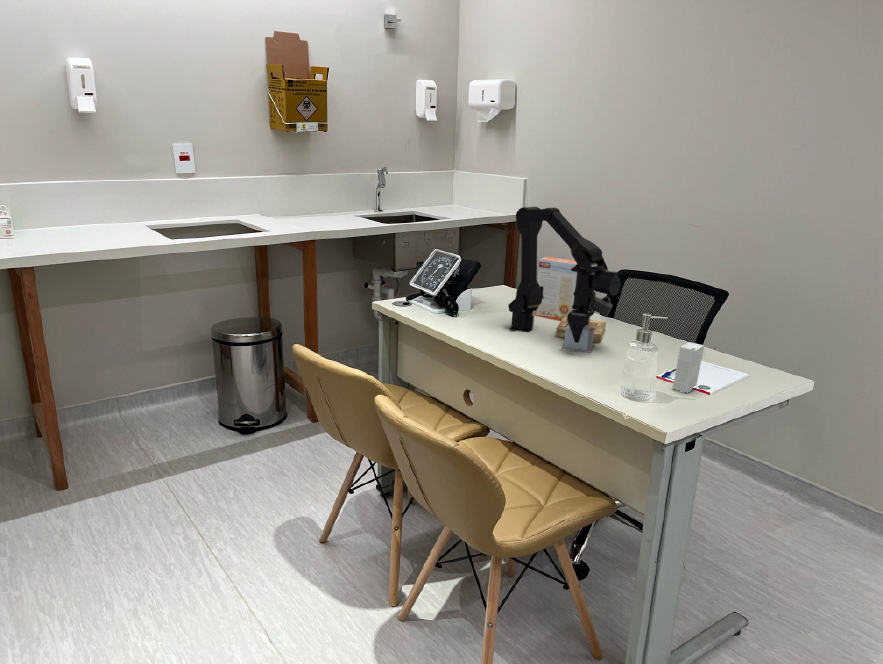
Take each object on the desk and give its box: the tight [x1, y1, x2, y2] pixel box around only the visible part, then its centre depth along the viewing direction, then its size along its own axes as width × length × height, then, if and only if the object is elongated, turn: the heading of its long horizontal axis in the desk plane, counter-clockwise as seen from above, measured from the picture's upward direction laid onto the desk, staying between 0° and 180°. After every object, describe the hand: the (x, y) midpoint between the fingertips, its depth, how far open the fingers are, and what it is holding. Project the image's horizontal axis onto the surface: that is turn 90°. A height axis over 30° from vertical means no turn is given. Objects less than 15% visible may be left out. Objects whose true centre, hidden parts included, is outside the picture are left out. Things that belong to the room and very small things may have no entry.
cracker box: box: [533, 256, 577, 322], centre depth 239 cm, size 14×6×21 cm, turn 58°
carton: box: [555, 316, 607, 344], centre depth 223 cm, size 14×16×4 cm
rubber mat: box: [560, 343, 595, 354], centre depth 211 cm, size 9×9×1 cm
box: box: [563, 324, 595, 351], centre depth 210 cm, size 8×4×6 cm, turn 71°
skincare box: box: [672, 342, 705, 394], centre depth 180 cm, size 6×4×12 cm
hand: (578, 338), depth 210 cm, fingers open, 9 cm apart
